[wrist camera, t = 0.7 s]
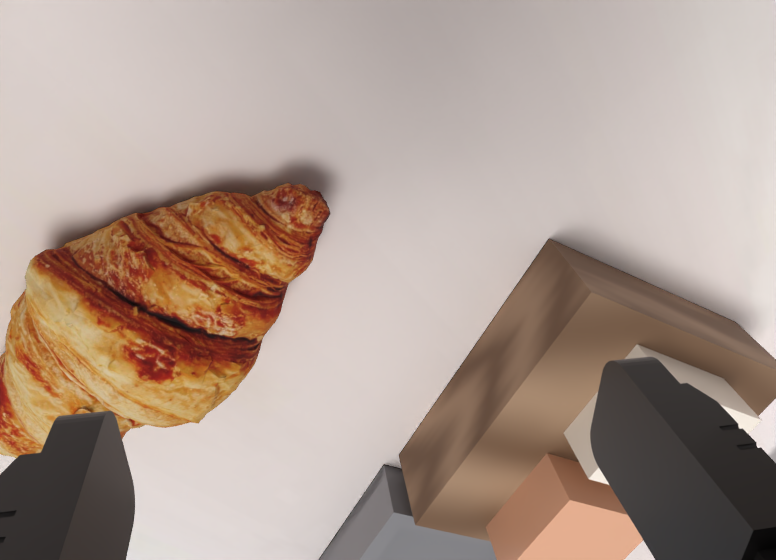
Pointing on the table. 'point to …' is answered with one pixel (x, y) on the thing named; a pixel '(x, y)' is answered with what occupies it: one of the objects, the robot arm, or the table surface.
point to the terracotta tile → (562, 518)
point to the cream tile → (684, 374)
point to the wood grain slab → (555, 381)
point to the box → (397, 529)
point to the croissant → (153, 312)
